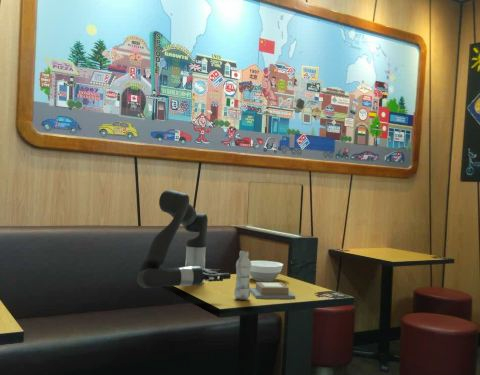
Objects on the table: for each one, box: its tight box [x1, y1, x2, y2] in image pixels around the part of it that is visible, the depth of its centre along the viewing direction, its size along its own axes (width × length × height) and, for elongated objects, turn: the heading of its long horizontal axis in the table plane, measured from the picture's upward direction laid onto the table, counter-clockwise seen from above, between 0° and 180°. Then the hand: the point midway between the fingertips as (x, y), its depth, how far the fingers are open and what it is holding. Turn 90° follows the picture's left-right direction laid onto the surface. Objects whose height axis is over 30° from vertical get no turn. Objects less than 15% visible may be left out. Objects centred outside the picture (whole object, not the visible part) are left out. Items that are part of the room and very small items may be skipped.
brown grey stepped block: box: [249, 281, 296, 300], centre depth 224 cm, size 17×16×4 cm
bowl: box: [250, 260, 284, 282], centre depth 259 cm, size 19×19×8 cm
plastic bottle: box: [233, 250, 251, 301], centre depth 212 cm, size 6×7×20 cm
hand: (225, 274), depth 208 cm, fingers open, 8 cm apart
